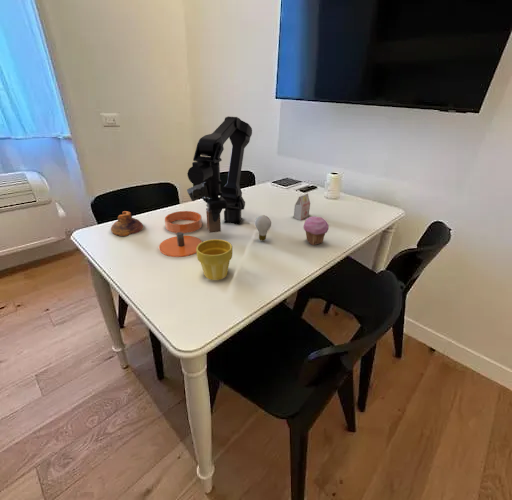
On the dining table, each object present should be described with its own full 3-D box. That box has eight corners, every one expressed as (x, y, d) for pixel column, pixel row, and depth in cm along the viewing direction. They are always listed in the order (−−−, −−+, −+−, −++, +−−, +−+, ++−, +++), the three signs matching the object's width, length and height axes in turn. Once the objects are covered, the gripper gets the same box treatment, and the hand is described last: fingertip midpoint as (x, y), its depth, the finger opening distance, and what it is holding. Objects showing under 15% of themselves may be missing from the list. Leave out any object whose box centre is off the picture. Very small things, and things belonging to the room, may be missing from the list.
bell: (130, 238, 112) (126, 220, 108) (104, 233, 115) (100, 215, 112) (150, 226, 121) (147, 209, 118) (126, 222, 125) (122, 205, 121)
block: (218, 227, 115) (217, 207, 111) (220, 231, 111) (220, 211, 107) (207, 228, 113) (206, 208, 109) (209, 233, 110) (208, 212, 106)
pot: (206, 221, 127) (206, 212, 125) (194, 236, 115) (193, 226, 113) (175, 218, 129) (174, 209, 127) (159, 232, 117) (158, 222, 115)
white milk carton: (293, 217, 133) (295, 196, 128) (301, 213, 137) (304, 192, 133) (300, 220, 131) (302, 198, 126) (308, 215, 135) (311, 194, 131)
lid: (208, 240, 112) (207, 226, 109) (193, 260, 99) (192, 245, 96) (170, 236, 114) (168, 222, 111) (151, 255, 101) (148, 240, 99)
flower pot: (199, 266, 96) (197, 238, 91) (232, 265, 97) (232, 238, 92) (197, 285, 87) (194, 255, 82) (233, 284, 88) (232, 255, 83)
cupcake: (311, 249, 107) (314, 224, 102) (297, 239, 114) (299, 215, 109) (330, 244, 111) (334, 219, 106) (316, 235, 118) (319, 211, 113)
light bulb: (272, 238, 114) (273, 214, 110) (267, 245, 110) (268, 219, 105) (257, 236, 116) (258, 211, 111) (252, 242, 111) (252, 217, 106)
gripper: (183, 171, 108) (187, 212, 115) (192, 186, 93) (195, 232, 100) (214, 169, 111) (216, 209, 119) (227, 183, 96) (228, 228, 103)
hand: (213, 219), depth 110 cm, fingers closed on block, 4 cm apart
